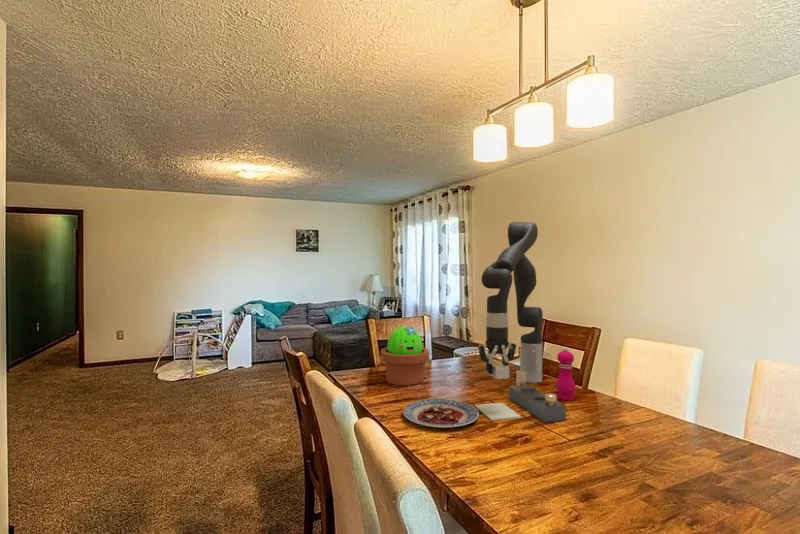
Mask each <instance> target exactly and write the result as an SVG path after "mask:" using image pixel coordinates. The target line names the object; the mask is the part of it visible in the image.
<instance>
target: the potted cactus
mask: <svg viewBox="0 0 800 534" xmlns="http://www.w3.org/2000/svg"><path fill="white" fill-rule="evenodd" d="M391 332H392V333H390V334H389V337H388V340H387V341H386V342H387V346H386V347H384V348H382V349H380V360H381V361H382V362H385V380H386V381H387V383H389V384H392V385H396V386H413V385H414V386H415V385H418V384H421V383H423V382H424V381H425V363H426V362H428V361H429V360H430V350H429V349H428V348H426V347H423V342H422V338H421V336H420V335H419V334H420V333H418V331H416V330H415V329H414V327H413V326H404V325H403V326H400V327H397V328H395V329H394V330H393V331H391Z"/></svg>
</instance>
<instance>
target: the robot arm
mask: <svg viewBox="0 0 800 534" xmlns="http://www.w3.org/2000/svg"><path fill="white" fill-rule="evenodd" d="M538 231H539V230H538V226H537V224H536V223H535V222H531V221H513V222H510V223H509V224H508V227H507V239H508V245H509V246H507V247H506V248H505V249H503V250H502V252H501V253H500V254H499V256H498V257H497V259H496V261H494V262H493V263H491V264H490V265H489V266H488V267H486V268H485V269H484V271H483V272H482V274H481V275H482V276H481V283H482V286H483V287H485V288H486V289H497V290H499V291H498V293H497V294H494V295H489V296H488V297H487V299H486V319H485V322H486V323H485V325H486V326H485V327H486V328H485V330H486V331H485V333H486V334H485V335H486V337H485V338H486V340H485V343H482V344H480V343H478V346H477V348H478V349H477V350H478V353H479V356H480V361H482V362H484V363H485V371H486V370H487V372H488V373H489V374H492V360H494V358H495V356H496V355H498V354H499V355H500V358H501V360H502V362H501V363H503V364H505V365H507V366H509V362H511V361H513V360H514V357H515V353H516V349H517V345H516V343H513V342H509V317H508V301H509V294H510V290H511V287H512V284H513V282H514V288H515V298H516V299H515V300H516V318H517V319H516V321H517V324H518V326H520V327H523V328H534V329H533V330H532V331H531V332H528V333H525V334H522V335H521V336H520V358H519V370H523V371H525V372H526V383H532V384H538V382H539V383H542V382H543V319H544V318H543V317H544V316H543V315H544V314H543V313H544V312H543V310H542V308H541V307H538V306H525V304H526V301H527V300H528V299H529V297H530V295H531V294H532V293H533V291H534V290H535V288H536V286H537V272H536V268H535V266H534V265H533V263H532V262H531V261H530V259H529V258H528V257H527V256H526V253H527V252H528V251H529V250H530V248H532V247H533V246H534V245H535V242H536V241H537V238H538ZM512 273H513V274H512ZM507 348H508V352H507ZM486 349H487V350H486ZM486 351H487V353H486ZM489 374H488V375H489Z"/></svg>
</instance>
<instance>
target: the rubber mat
mask: <svg viewBox="0 0 800 534" xmlns="http://www.w3.org/2000/svg"><path fill="white" fill-rule="evenodd" d="M474 408H475V409H477V411H478V412H480V413H482V414H483V415H484V416H485V417H487V419H488V420H490V421H503V420H505V421H507V420H515V419H522V416H521V415H520V414H519V413H517V412H516V411H515V410H514V409H512V408H510V407H509V406H507V405H506V404H505V403H503V402H494V403H481V404H474Z"/></svg>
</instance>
